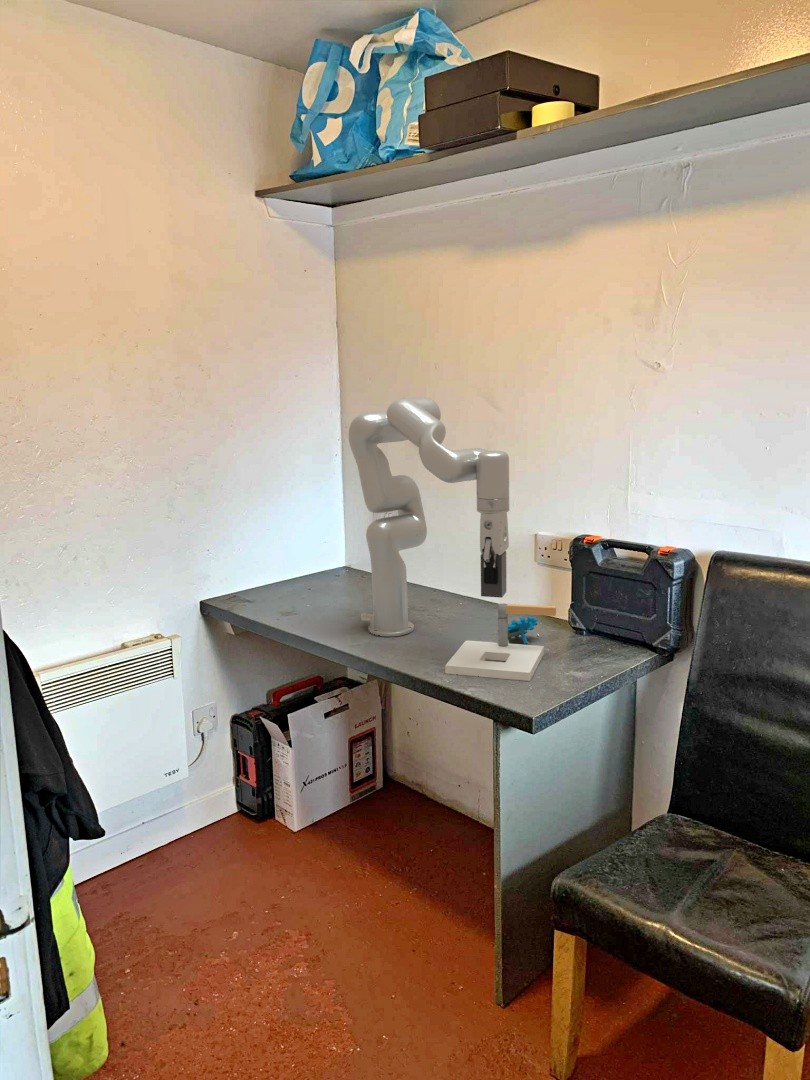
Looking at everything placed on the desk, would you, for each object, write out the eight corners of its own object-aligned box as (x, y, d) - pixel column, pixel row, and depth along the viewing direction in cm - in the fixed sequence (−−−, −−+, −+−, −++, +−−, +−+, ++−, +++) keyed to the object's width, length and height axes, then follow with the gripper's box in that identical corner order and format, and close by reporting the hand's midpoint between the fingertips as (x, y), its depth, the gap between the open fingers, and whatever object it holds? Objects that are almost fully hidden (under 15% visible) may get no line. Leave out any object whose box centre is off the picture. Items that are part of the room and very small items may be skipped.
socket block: (445, 673, 193) (444, 636, 192) (466, 647, 211) (465, 613, 209) (529, 681, 187) (529, 642, 185) (543, 653, 204) (543, 618, 203)
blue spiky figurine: (532, 628, 220) (539, 610, 212) (540, 647, 217) (548, 630, 209) (493, 637, 218) (499, 620, 209) (501, 657, 215) (507, 640, 206)
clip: (555, 620, 200) (555, 608, 199) (497, 617, 204) (497, 605, 203) (556, 617, 202) (556, 605, 201) (498, 614, 206) (498, 603, 205)
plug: (481, 596, 193) (480, 554, 191) (486, 590, 198) (485, 550, 196) (501, 597, 191) (501, 555, 189) (506, 592, 196) (506, 551, 194)
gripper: (500, 511, 181) (501, 591, 185) (516, 499, 197) (516, 573, 201) (467, 510, 184) (469, 589, 187) (485, 498, 199) (486, 571, 203)
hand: (493, 579), depth 194 cm, fingers closed on plug, 5 cm apart
